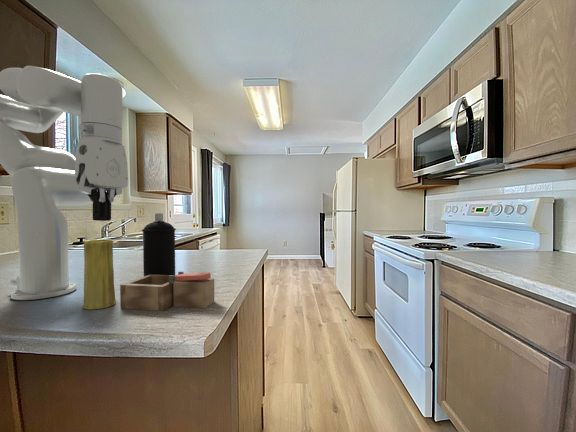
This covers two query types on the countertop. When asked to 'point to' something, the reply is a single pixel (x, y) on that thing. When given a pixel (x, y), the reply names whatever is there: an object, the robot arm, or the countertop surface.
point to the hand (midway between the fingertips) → (101, 220)
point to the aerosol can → (159, 247)
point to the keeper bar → (192, 276)
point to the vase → (98, 274)
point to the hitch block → (166, 293)
